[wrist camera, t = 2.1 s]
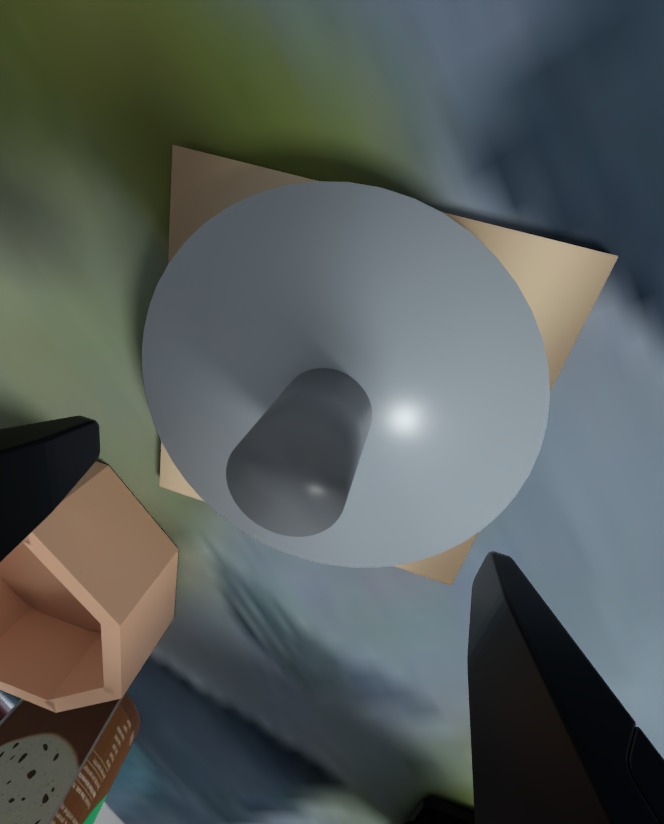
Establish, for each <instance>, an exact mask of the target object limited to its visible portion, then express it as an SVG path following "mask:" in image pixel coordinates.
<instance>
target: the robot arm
mask: <svg viewBox="0 0 664 824" xmlns="http://www.w3.org/2000/svg"><path fill="white" fill-rule="evenodd" d="M99 454H100V436H99V425H98V423H97V422H96V421H95V420H92V419H89V418H86V417H83V416H74V417H68V418H62V419H56V420H51V421H45V422H39V423H34V424H28V425H22V426H16V427H11V428H5V429H0V562H1V561H2V560H3V559H4V558H5V557H6V556H7V555H8V554H9V553H11V552H12V551H13V550H14V549H15V548H16V547H17V546H18V545H19V544H20V543H21V542H22V541H23V540H24V539H25V538H26V537H27V536H28V535H29V534H30V533H31V532H32V531H33V530H34V529H35V528H37V527H38V526H39V525H40V524H41V523H42V522H43V521H44V520H45V519H46V518H47V517H48V516H49V515H50V514H51V513H52V512H53V511H54V509H55V508H56V507H57V506H58V505H59V504H60V503H61V502H62V501H63V499H64V498H65V497H66V496H67V495H68V494H69V492H70V491H71V490H72V489H73V488H74V486H75V485H76V484H77V483H78V482H79V481H80V479H81V478H82V477H83V476H84V475H85V474H86V472H87V471H88V470H89V469H90V468H91V467H92V465H93V464H94V463H95V462H96V460H97V459H98V457H99ZM468 686H469V707H470V728H471V749H472V770H473V791H474V811H475V814H472V813H470V812H467V811H465V810H462V809H459V808H457V807H454V806H452V805H449V804H447V803H444V802H442V801H439V800H437V799H434V798H429V797H426V798H423V799H422V800H421V802H420V803H419V805H418V806H417V808H416V809H415V810H414V812H413V813H412V815H411V816H410V818H409V819H408V820H407V821H406V822H404V824H664V759H663V758H662V757H661V755H660V754H659V753H658V751H657V750H656V749H655V747H654V746H653V745H652V743H651V742H650V741H649V739H648V738H647V737H646V735H645V734H644V733H643V731H642V730H641V729H640V728H639V727H635V726H636V723H635V721H634V720H633V718H632V717H631V716H630V714H629V713H628V712H627V710H626V709H625V708H624V706H623V705H622V704H621V702H620V701H619V700H618V698H617V697H616V696H615V695H614V693H613V692H612V691H611V689H610V688H609V687H608V685H607V684H606V683H605V681H604V680H603V679H602V677H601V676H600V675H599V673H598V672H597V671H596V669H595V668H594V667H593V665H592V664H591V663H590V661H589V660H588V659H587V657H586V656H585V655H584V653H583V652H582V651H581V649H580V648H579V647H578V645H577V644H576V643H575V641H574V640H573V639H572V637H571V636H570V635H569V633H568V632H567V631H566V629H565V628H564V627H563V625H562V624H561V623H560V621H559V620H558V619H557V617H556V616H555V615H554V614H553V612H552V611H551V610H550V608H549V607H548V606H547V604H546V603H545V602H544V600H543V599H542V598H541V596H540V595H539V594H538V592H537V591H536V590H535V588H534V587H533V586H532V584H531V583H530V582H529V580H528V579H527V578H526V576H525V575H524V574H523V572H522V571H521V570H520V568H519V567H518V566H517V564H516V563H515V562H514V560H513V559H512V558H511V557H509V556H507V555H504V554H501V553H497V552H494V551H492V552H489V553H488V554H487V556H486V558H485V560H484V561H483V563H482V565H481V567H480V569H479V571H478V573H477V574H476V576H475V579H474V582H473V586H472V597H471V612H470V627H469V642H468Z"/></svg>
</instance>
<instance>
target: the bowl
mask: <svg viewBox="0 0 664 824" xmlns="http://www.w3.org/2000/svg"><path fill="white" fill-rule="evenodd" d="M178 551H179V549H178V548H177V547H176V546H175V545H174V543H173V542H172V541H171V540H170V539H169V537H168V536H167V535H166V534H165V533H164V531H163V530H162V529H161V528H160V527H159V525H158V524H157V523H156V522H155V521H154V519H153V518H152V517H151V516H150V515H149V513H148V512H147V511H146V510H145V509H144V507H143V506H142V505H141V504H140V503H139V501H138V500H137V499H136V498H135V497H134V495H133V494H132V493H131V492H130V491H129V489H128V488H127V487H126V486H125V485H124V483H123V482H122V481H121V480H120V479H119V477H118V476H117V475H116V474H115V473H114V471H113V470H112V469H111V468H110V467H109V465H106V464H103V463H100V462H97V461H96V462H95V463H94V464H93V465H92V467H91V468H90V469H89V470H88V471H87V472H86V474H85V475H84V476H83V477H82V478H81V479H80V481H79V482H78V483H77V484H76V485H75V486H74V488H73V489H72V490H71V491H70V492H69V494H68V495H67V496H66V497H65V498H64V499H63V501H62V502H61V503H60V504H59V505H58V506H57V507H56V508H55V509H54V511H53V512H52V513H51V514H50V515H49V516H48V517H47V518H46V519H45V520H44V521H43V522H42V523H41V524H40V525H39V526H38V527H37V528H35V529H34V530H33V531H32V532H31V533H30V534H29V535H28V536H27V537H26V538H25V539H24V540H23V541H22V542H21V543H20V544H19V545H18V546H17V547H16V548H15V549H14V550H13V551H12V552H11V553H9V554H8V555H7V556H6V557H5V558H4V559H3V560H2V561H1V562H0V690H2V691H4V692H7V693H9V694H12V695H14V696H16V697H19V698H21V699H24V700H26V701H29V702H31V703H33V704H36V705H38V706H41V707H43V708H46V709H48V710H51V711H53V712H55V713H57V712H62V711H66V710H71V709H76V708H80V707H85V706H89V705H94V704H99V703H103V702H108V701H112V700H117V699H121V698H122V697H123V695H124V694H125V692H126V691H127V689H128V688H129V686H130V685H131V683H132V682H133V680H134V679H135V677H136V675H137V674H138V672H139V671H140V669H141V668H142V666H143V665H144V663H145V662H146V660H147V659H148V657H149V655H150V654H151V652H152V651H153V649H154V648H155V646H156V645H157V643H158V642H159V640H160V639H161V637H162V636H163V634H164V632H165V631H166V629H167V628H168V626H169V625H170V623H171V622H172V620H173V619H174V608H175V594H176V580H177V565H178Z"/></svg>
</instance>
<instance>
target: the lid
mask: <svg viewBox="0 0 664 824" xmlns="http://www.w3.org/2000/svg"><path fill="white" fill-rule="evenodd" d="M142 372H143V382H144V388H145V393H146V399H147V403H148V406H149V410H150V413H151V416H152V420H153V423H154V425H155V427H156V430H157V432H158V434H159V437H160V439H161V441H162V444H163V445H164V447H165V449H166V451H167V453H168V454H169V456H170V458H171V460H172V461H173V463H174V465H175V466H176V467H177V469H178V470H179V472H180V473H181V474H182V476H183V477H184V479H185V480H186V481H187V482H188V484H189V485H190V486H191V487H192V488H193V489H194V491H195V492H196V493H197V494H198V495H199V496H200V497H201V498H202V499H203V500H204V501H205V502H206V503H207V504H208V505H209V506H210V507H211V508H212V509H213V510H214V511H215V512H216V513H218V514H219V515H220V516H222V517H223V518H224V519H225V520H227V521H228V522H229V523H231V524H232V525H233V526H235V527H236V528H238V529H239V530H241V531H242V532H244V533H246V534H247V535H249V536H250V537H252V538H254V539H256V540H258V541H260V542H262V543H263V544H265V545H267V546H269V547H271V548H274V549H276V550H279V551H281V552H284V553H286V554H289V555H291V556H295V557H298V558H301V559H305V560H308V561H312V562H317V563H322V564H327V565H332V566H341V567H353V568H378V567H387V566H395V565H402V564H406V563H410V562H415V561H419V560H423V559H426V558H428V557H431V556H434V555H437V554H440V553H442V552H445V551H447V550H449V549H451V548H453V547H455V546H457V545H459V544H461V543H463V542H464V541H466V540H467V539H469V538H470V537H472V536H473V535H475V534H476V533H478V532H479V531H481V530H482V529H484V528H485V527H486V526H487V525H488V524H489V523H490V522H492V521H493V520H494V519H495V518H496V517H497V516H498V515H499V514H501V512H502V511H503V510H504V509H505V508H506V507H507V505H508V504H509V503H510V502H511V501H512V500H513V499H514V497H515V496H516V495H517V493H518V492H519V490H520V489H521V487H522V486H523V484H524V482H525V481H526V479H527V478H528V476H529V475H530V472H531V470H532V468H533V466H534V463H535V461H536V459H537V457H538V454H539V452H540V449H541V446H542V442H543V438H544V435H545V431H546V427H547V421H548V412H549V404H550V384H549V368H548V363H547V358H546V353H545V348H544V343H543V339H542V336H541V334H540V331H539V328H538V325H537V323H536V320H535V317H534V315H533V312H532V310H531V308H530V306H529V304H528V303H527V301H526V299H525V297H524V295H523V294H522V292H521V290H520V288H519V286H518V285H517V283H516V282H515V280H514V279H513V278H512V276H511V275H510V274H509V273H508V271H507V270H506V269H505V267H504V266H503V265H502V263H501V262H500V261H499V260H498V258H497V257H496V256H495V255H494V254H493V253H492V252H491V251H490V250H489V249H488V248H487V247H486V246H485V245H483V244H482V243H481V242H480V241H479V240H478V239H477V238H476V237H475V236H474V235H473V234H472V233H471V232H470V231H468V230H467V229H466V228H464V227H463V226H461V225H460V224H458V223H457V222H456V221H454V220H453V219H451V218H450V217H449V216H447V215H446V214H444V213H443V212H441V211H439V210H437V209H435V208H433V207H431V206H429V205H427V204H425V203H423V202H421V201H419V200H417V199H415V198H411V197H408V196H405V195H402V194H399V193H396V192H393V191H390V190H387V189H384V188H381V187H375V186H369V185H363V184H357V183H352V182H328V181H314V182H306V183H299V184H291V185H284V186H281V187H277V188H274V189H271V190H267V191H264V192H260V193H257V194H254V195H252V196H250V197H248V198H246V199H244V200H242V201H239V202H237V203H235V204H233V205H231V206H229V207H227V208H226V209H224V210H223V211H222V212H220V213H219V214H217V215H216V216H214V217H213V218H211V219H210V220H208V221H207V222H206V223H204V224H203V225H202V226H201V227H200V228H199V229H198V230H197V231H196V232H195V233H194V234H193V235H192V236H191V237H190V238H189V239H188V240H187V241H185V243H184V244H183V245H182V247H181V248H180V249H179V251H178V252H177V253H176V254H175V256H174V257H173V258H172V260H171V261H170V262H169V264H168V266H167V268H166V269H165V271H164V273H163V275H162V277H161V279H160V280H159V282H158V284H157V286H156V289H155V292H154V294H153V297H152V300H151V303H150V305H149V308H148V313H147V317H146V322H145V327H144V331H143V344H142Z"/></svg>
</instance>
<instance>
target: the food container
mask: <svg viewBox="0 0 664 824" xmlns="http://www.w3.org/2000/svg"><path fill="white" fill-rule="evenodd" d="M139 728H140V718H139V714H138V711H137V709H136V707H135V705H134V703H133V701H132V700H131V698H130V697H129V696H128V694H127V693H126V692H125V694H124V695H123V697H122V698H121V699H117V700H112V701H108V702H103V703H99V704H94V705H89V706H85V707H80V708H76V709H71V710H66V711H62V712H57V713H55V712H53V711H51V710H48V709H46V708H43V707H41V706H38V705H36V704H33V703H31V702H29V701H26V700H24V699H21V700H20V701H19V702H18V703H17V704H16V705H15V706H14V707H13V708H12V709H11V710H10V711H9V713H8V714H7V715H6V716H5V717H4V718H3V719H2V720H1V721H0V824H93V823H94V821H95V819H96V817H97V815H98V813H99V810H100V809H101V807H102V804H103V802H104V800H105V798H106V796H107V794H108V792H109V790H110V788H111V786H112V784H113V782H114V780H115V778H116V776H117V774H118V772H119V770H120V768H121V766H122V764H123V762H124V760H125V758H126V756H127V754H128V752H129V750H130V748H131V745H132V743H133V741H134V739H135V737H136V735H137V733H138V731H139Z"/></svg>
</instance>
